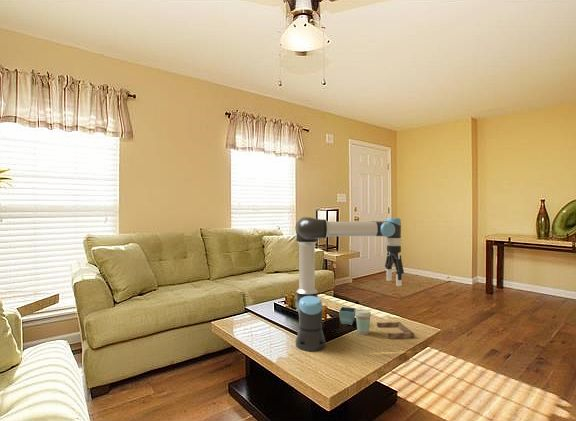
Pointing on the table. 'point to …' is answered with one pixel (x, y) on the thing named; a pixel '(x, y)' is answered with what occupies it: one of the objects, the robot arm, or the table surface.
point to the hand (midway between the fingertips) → (393, 283)
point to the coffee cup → (363, 321)
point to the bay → (405, 334)
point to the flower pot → (347, 315)
